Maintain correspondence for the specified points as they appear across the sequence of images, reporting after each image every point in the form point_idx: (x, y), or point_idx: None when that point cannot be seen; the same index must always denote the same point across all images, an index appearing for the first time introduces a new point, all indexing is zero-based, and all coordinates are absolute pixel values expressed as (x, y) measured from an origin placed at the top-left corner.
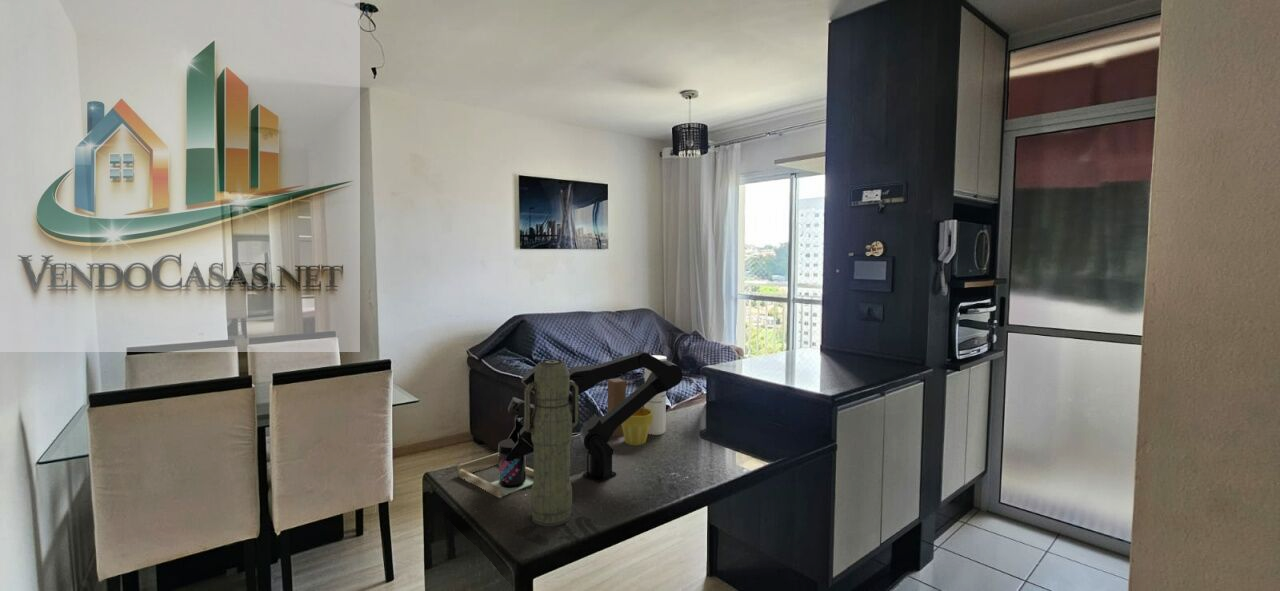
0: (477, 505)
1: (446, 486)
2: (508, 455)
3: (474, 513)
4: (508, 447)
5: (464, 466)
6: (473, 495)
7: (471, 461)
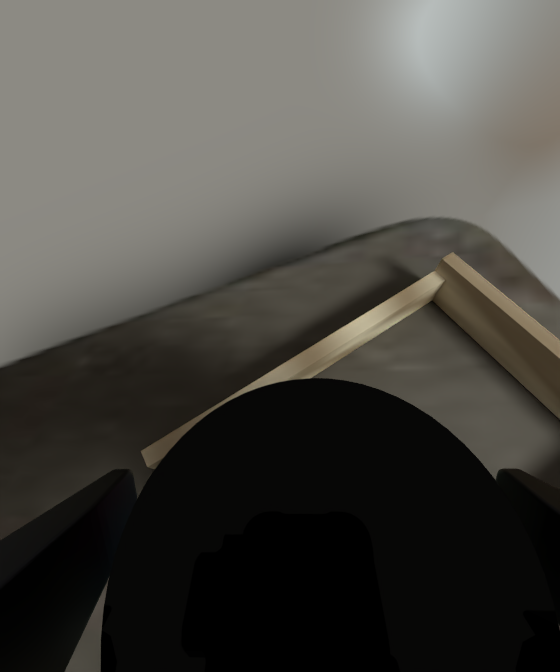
0: (129, 364)
1: (338, 258)
2: (66, 503)
3: (67, 356)
4: (137, 508)
5: (458, 283)
6: (228, 348)
7: (505, 304)
